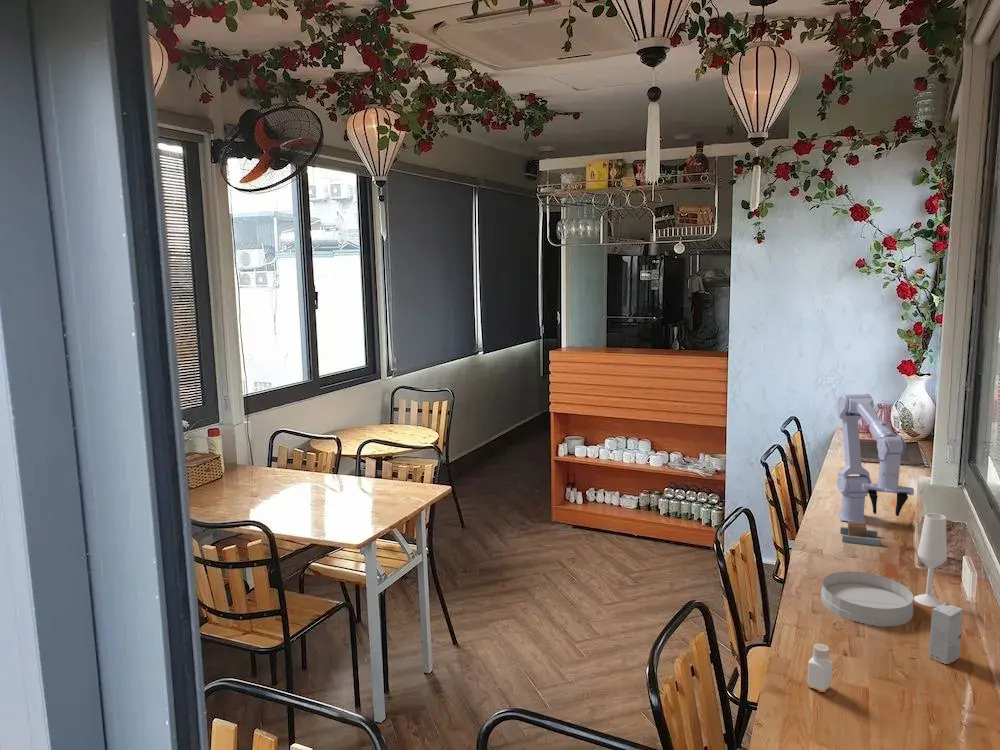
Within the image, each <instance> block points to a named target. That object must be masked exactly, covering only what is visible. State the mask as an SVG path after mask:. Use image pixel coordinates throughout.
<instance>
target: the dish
mask: <svg viewBox="0 0 1000 750" xmlns="http://www.w3.org/2000/svg"><path fill="white" fill-rule="evenodd" d="M820 590H821V595H820V596H821V597H820V599H821V600H820V601H821V603H822V602H823V603H822V604H824V605H823V606H824V607H825V608H826V609H827V608H828V609H829V610H828V609H827V610H828V611H829V612H831V611H832V612H831V613H833V614H835V615H836V614H837V615H836V616H838V615H839V616H838V617H840V616H841V618H843V617H844V618H843V619H845V618H846V619H845V620H848V619H849V620H848V621H850V620H852V621H851V622H854V621H856V622H855V623H857V622H860V623H859V624H861V623H865V624H864V625H866V624H871V625H870V626H872V625H875V626H874V627H886V626H887V627H896V626H901V625H904V624H907V623H909V622H910V621H912V618H913V616H914V601H915V600H914V595H913V593H912V591H911V590H910V589H909V588H908V587H906V586H904V585H903V584H902V583H900V582H898V581H896V580H894V579H890V578H888V577H886V576H883V575H877V574H873V573H869V572H861V571H838V572H833V573H830V574H828V575H826V576H825V577H824V578H823V580H822V588H821V589H820Z"/></svg>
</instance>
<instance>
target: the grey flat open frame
mask: <svg viewBox="0 0 1000 750" xmlns="http://www.w3.org/2000/svg"><path fill="white" fill-rule="evenodd" d="M839 531H840V532H839V533H840V534H842V538H841V539H842V543H849V544H850V543H851V544H861V545H869V546H876V547H881V538H878V530H875V529H867V530H866V537H858V536H849V535H847V533H848V526H840V530H839Z"/></svg>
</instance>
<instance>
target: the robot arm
mask: <svg viewBox="0 0 1000 750" xmlns="http://www.w3.org/2000/svg"><path fill="white" fill-rule="evenodd" d="M837 413H838V415H837V416H838V418H839V419H841V423H842V433H843V436H842V437H843V445H844V446H843V448H844V459H845V466H844V467H843V468H842V469H841V470H840V471H838V472H837V481H836V482H837V483H836V486H837V490H838V491H839V492H840V494H841V510H838V515H839V520H840V521H841V522H847V523H848V521H851V522H860V523H865V524H866V523H867V521H866V518H865V516H864V515H865V506H866V503H865V502H866V497H868V496H869V497H870V501H871V505H872V512H873V515H874V514H875V515H876V514H877V503H878V498H879V497H878V496H879V495H878V492H879V493H890V494H896V506H895V516H896V517H899V516H900V512H901V510H902V508H903V506H904V505H905V503H906V502H907V500H908V499H909V495H910V496H914V495H915V489H914V488H913V487H909V486H902V485H899V482H900V481H899V479H900V471H901V470H900V467H901V457H902V456H901V455H903V454H904V453H905V452H906V447H907V446H906V441H905V439H904V437H903V436H902V435H898V434H895V432H894V431H893V430H892V429H891V428H890V426H889V424H888V423H887V422H886V421H885V420H881V418H879V415H878V414H877V412H876V411H875V409H874V399H873V397H872V396H871V394H870V393H863V394H859V393H858V394H841V395H840V396H839V397H838V399H837ZM861 419H863V420H864V421H865V422H866V423H867V424H868V425H869V428H868V430H869V433H870V434H871V436H872V437H873V438H874V440H875V442H876V447H877V453H878V454H877V456H878V459H879V466H878V467H879V468H878V480H877V483H873V482H872V479H871V476H870V472H869V470H867V469H866V468H864V467H863V465H862V454H861V452H862V451H861V442H860V429H859V421H860V420H861Z"/></svg>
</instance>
